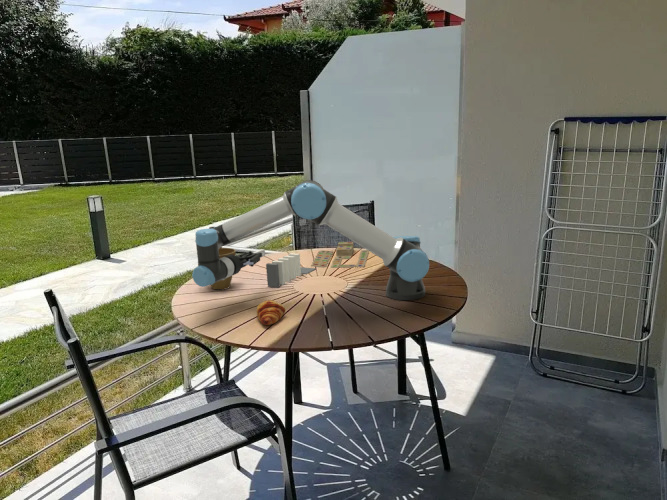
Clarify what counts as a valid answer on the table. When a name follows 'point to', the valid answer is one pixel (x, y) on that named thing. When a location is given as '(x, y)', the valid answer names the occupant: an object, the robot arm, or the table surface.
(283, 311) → the croissant
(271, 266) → the domino
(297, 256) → the domino
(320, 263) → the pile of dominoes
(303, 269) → the mat
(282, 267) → the domino
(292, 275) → the domino
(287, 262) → the domino
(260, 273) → the table surface
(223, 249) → the plant pot
